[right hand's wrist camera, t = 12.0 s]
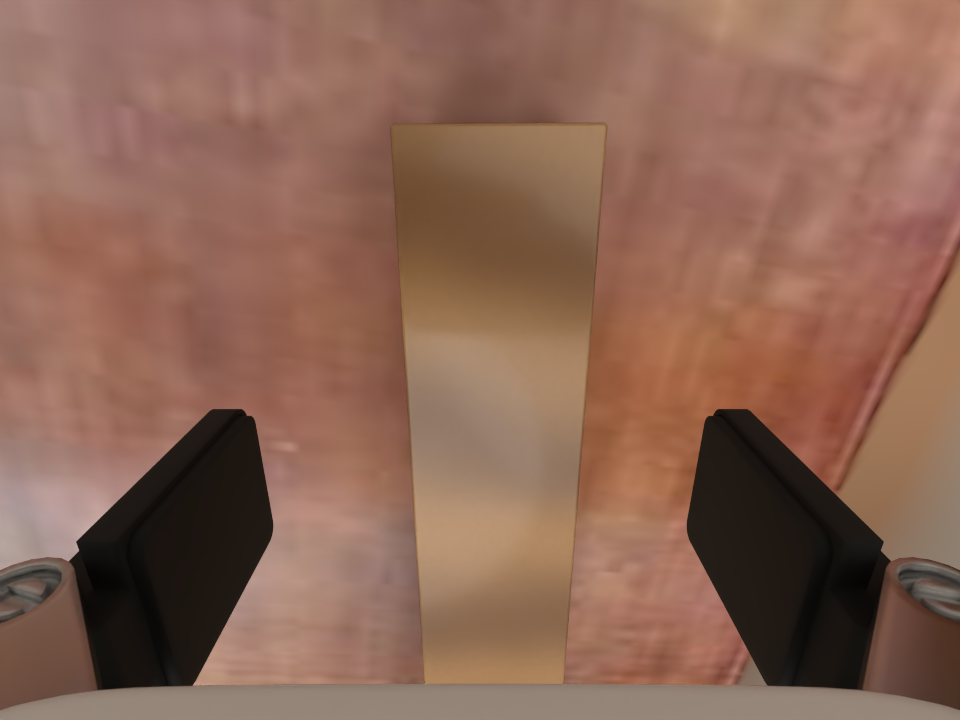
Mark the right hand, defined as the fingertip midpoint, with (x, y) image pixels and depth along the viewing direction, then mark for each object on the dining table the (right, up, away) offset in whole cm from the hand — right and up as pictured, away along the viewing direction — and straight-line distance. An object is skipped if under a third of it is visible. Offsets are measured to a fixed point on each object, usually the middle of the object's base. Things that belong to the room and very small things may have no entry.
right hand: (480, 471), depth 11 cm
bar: (+1, -17, +21) cm, 27 cm away
